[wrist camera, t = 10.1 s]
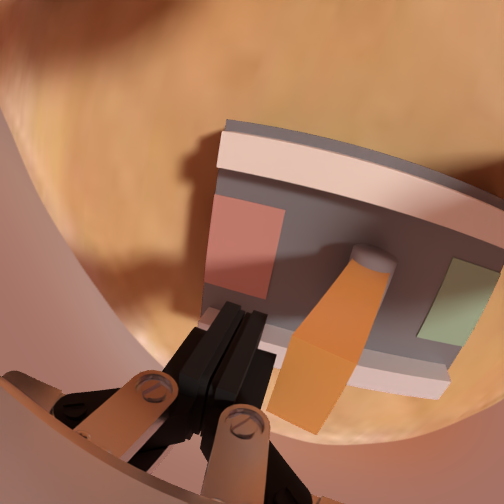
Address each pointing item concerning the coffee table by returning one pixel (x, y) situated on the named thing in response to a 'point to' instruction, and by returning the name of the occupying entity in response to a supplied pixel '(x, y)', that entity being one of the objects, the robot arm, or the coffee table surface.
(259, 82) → the coffee table surface
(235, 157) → the breaker block
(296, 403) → the breaker lever
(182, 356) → the robot arm
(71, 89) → the coffee table surface
